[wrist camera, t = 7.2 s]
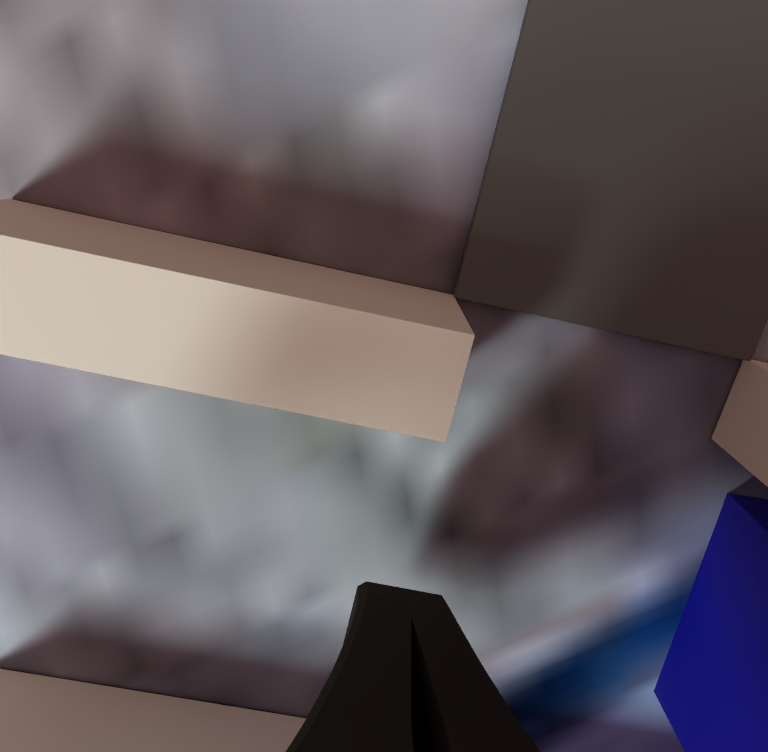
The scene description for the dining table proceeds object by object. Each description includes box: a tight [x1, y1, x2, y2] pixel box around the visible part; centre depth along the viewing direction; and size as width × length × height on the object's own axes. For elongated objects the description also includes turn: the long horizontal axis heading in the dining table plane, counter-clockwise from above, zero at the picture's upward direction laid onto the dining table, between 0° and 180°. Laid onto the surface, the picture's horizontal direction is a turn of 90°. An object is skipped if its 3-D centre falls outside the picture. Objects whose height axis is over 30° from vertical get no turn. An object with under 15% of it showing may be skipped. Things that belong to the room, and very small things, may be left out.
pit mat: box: [453, 0, 768, 361], centre depth 10 cm, size 5×5×1 cm
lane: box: [0, 199, 768, 752], centre depth 12 cm, size 10×27×3 cm, turn 78°
